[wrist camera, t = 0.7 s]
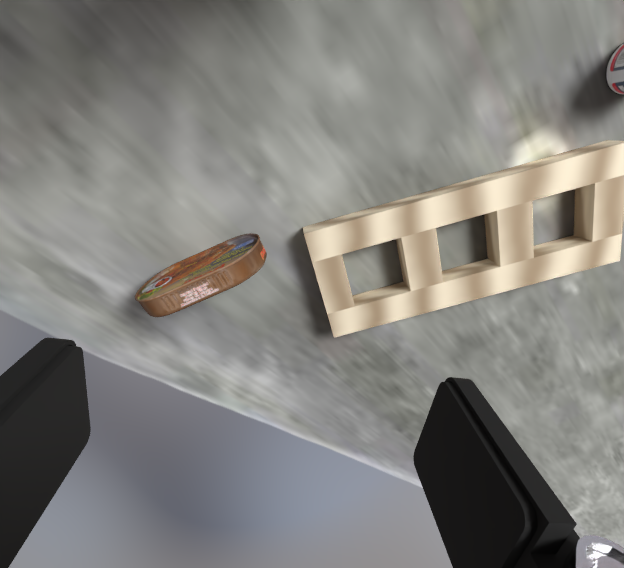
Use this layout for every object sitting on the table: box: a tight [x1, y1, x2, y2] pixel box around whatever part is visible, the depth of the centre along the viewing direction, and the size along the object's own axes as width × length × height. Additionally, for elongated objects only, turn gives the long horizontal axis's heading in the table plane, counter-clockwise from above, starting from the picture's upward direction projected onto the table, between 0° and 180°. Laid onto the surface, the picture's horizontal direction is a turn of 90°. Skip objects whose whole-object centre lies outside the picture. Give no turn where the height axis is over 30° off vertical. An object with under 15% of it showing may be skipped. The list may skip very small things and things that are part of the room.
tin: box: [135, 234, 267, 317], centre depth 40 cm, size 15×3×8 cm, turn 113°
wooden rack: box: [303, 140, 624, 337], centre depth 43 cm, size 36×14×3 cm, turn 105°
